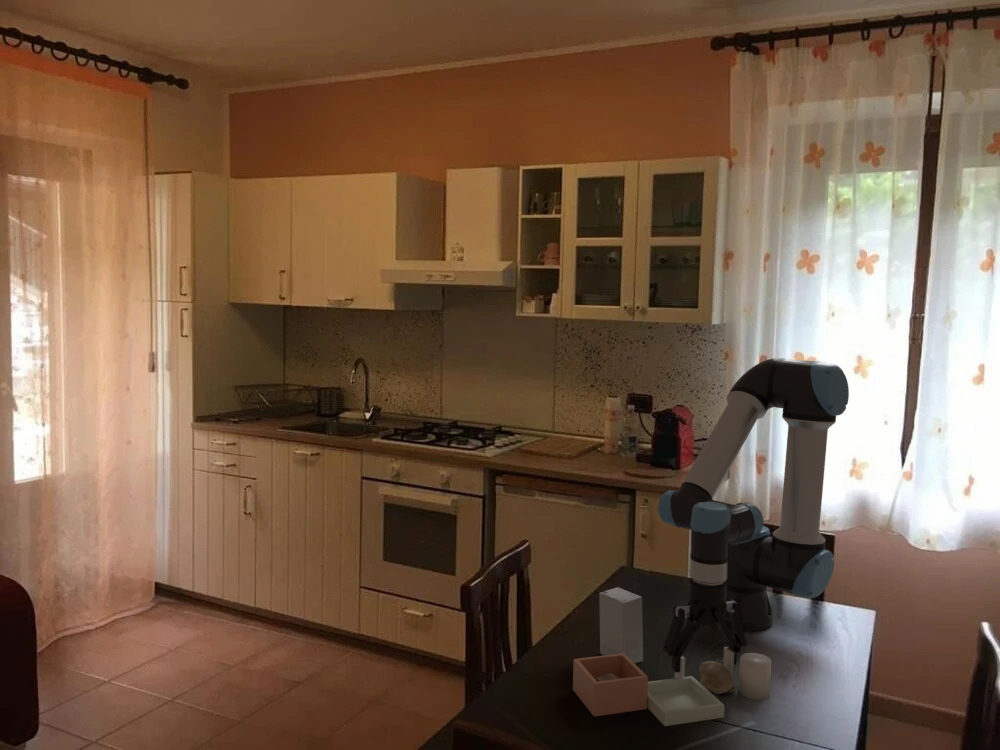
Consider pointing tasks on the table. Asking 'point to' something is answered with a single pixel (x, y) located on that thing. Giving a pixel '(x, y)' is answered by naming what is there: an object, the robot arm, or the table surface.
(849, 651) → the table surface
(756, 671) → the beige rounded capsule
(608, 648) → the skincare box
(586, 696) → the pink open box
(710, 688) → the stone
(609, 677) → the walnut block
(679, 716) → the green dish
